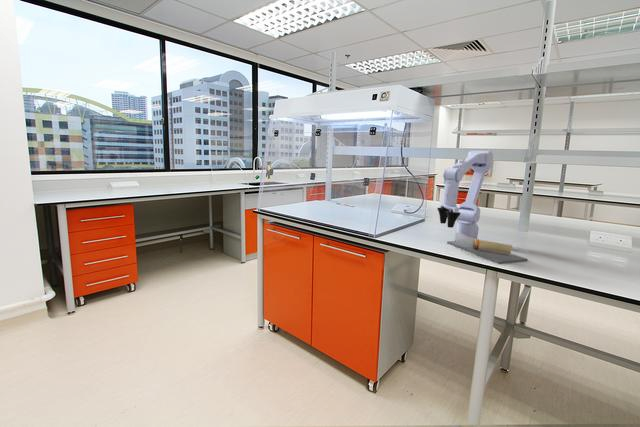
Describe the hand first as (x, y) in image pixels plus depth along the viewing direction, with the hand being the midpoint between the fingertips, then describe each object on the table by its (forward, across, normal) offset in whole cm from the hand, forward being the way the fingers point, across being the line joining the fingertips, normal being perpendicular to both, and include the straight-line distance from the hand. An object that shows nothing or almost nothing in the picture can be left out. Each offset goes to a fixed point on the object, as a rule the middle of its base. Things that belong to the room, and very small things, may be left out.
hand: (446, 225), depth 142 cm
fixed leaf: (+10, 0, +9) cm, 14 cm away
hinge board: (+10, +6, +16) cm, 19 cm away
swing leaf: (+8, +10, +17) cm, 21 cm away
